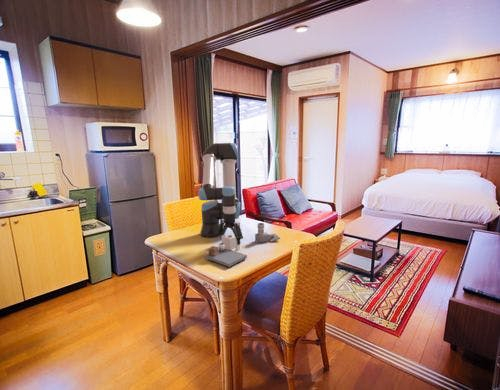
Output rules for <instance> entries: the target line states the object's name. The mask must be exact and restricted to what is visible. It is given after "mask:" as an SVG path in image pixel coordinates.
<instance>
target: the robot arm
mask: <svg viewBox="0 0 500 390" xmlns="http://www.w3.org/2000/svg"><path fill="white" fill-rule="evenodd" d="M238 150H239V149H238V146H237V144H236V143H235V142H223V143H222V142H219V143H218V142H217V143H216V142H215V143H212V144H210V145H208V146H207V147H206V148H205V150H204V151H203V154H202V159H201V160H202V162H203V169H202V170H203V171H202V187H200V188H199V189H198V199H199V200H200V201H206V202H203V203H202V205H201V210H200V211H201V219H202V220H201V221H202V225H201V229H200V231H199V232H200V237H203V238H207V239H212V238H213V239H214V238H219V237H220V240H221V243H224V244H225V240H224V237H226V232H227V230H228V228H229V229H230V230H231V231H232V232H233V234H234V235H233V236H235V237H236V248H235V251H239V250H240V249H241V240H243V238H244V236H243V232H242V229H241V225H240V224H241V223H240V222H239V221H238V222H237V221H236V220H237V219H239V218H240V212H241V201H239V198H237V192H236V191H237V188H236V185H237V184H236V163H237V162H238V160H239V151H238ZM217 161H220V162H219V163H220V164H222V185H223V186H222V187H215V183H216V181H215V178H216V177H215V175H216V174H215V173H216V171H215V170H216V168H215V167H216V162H217ZM219 201H221V202H219Z"/></svg>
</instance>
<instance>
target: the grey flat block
mask: <svg viewBox="0 0 500 390" xmlns="http://www.w3.org/2000/svg"><path fill="white" fill-rule="evenodd" d="M204 257H205V259H207V261H213V262H215V263H218V264H219V265H220V264H221V265H223V266H226V267H227V268H228V269H229V268H232V266H234V265H235V264H237V263H241V261H245V260H246V259H247V258H248V255H247V254H245V253H241V252H239V251H237V250H235V251H234V250H233V249H232V250H229V249H226V248H225V252H219V254H218V255H217V256H215V257H214V256H209V253H208V254H206V255H205V256H204Z"/></svg>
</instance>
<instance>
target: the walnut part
mask: <svg viewBox="0 0 500 390" xmlns="http://www.w3.org/2000/svg"><path fill="white" fill-rule="evenodd" d="M207 252H208V254H209V256H214V257H215V256H217V255H218V254H219V246H215V245H213V246H210V247H208V249H207Z"/></svg>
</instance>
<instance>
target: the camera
mask: <svg viewBox="0 0 500 390" xmlns="http://www.w3.org/2000/svg"><path fill="white" fill-rule="evenodd" d="M254 235H255V236H254V237H255V238H254V239H255V242H256V244H261V243H268V242H270V243H273V242H275V241H278V240H280V239H281V237H280V236H279V235H277V234H276V233H267V232H265V223H264V222H258V223H257V233H254Z"/></svg>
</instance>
